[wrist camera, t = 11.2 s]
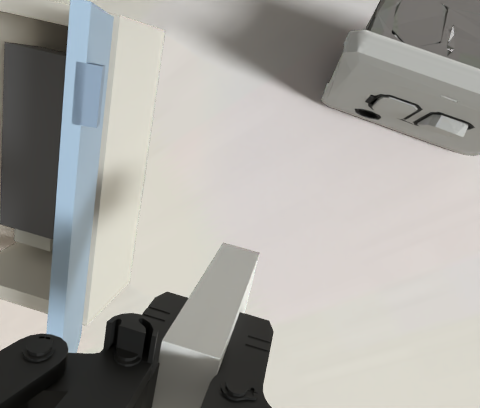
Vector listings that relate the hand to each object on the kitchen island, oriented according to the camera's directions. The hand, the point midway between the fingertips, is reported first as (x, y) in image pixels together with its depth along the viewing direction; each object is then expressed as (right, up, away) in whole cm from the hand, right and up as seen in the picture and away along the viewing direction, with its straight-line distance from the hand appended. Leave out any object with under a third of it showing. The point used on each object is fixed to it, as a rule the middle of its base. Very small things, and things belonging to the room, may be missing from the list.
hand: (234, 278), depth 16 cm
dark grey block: (-13, +7, +13) cm, 19 cm away
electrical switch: (+10, +10, +7) cm, 16 cm away
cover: (-8, +2, +2) cm, 8 cm away
